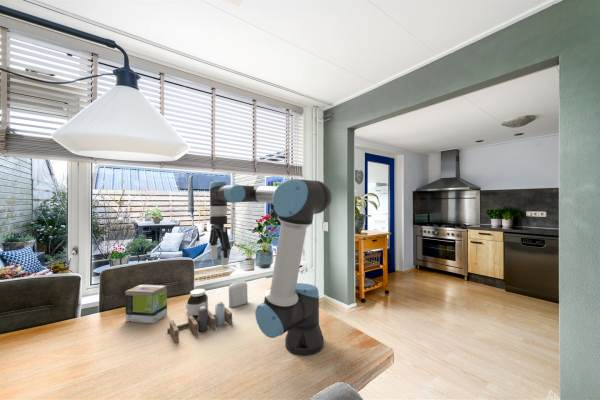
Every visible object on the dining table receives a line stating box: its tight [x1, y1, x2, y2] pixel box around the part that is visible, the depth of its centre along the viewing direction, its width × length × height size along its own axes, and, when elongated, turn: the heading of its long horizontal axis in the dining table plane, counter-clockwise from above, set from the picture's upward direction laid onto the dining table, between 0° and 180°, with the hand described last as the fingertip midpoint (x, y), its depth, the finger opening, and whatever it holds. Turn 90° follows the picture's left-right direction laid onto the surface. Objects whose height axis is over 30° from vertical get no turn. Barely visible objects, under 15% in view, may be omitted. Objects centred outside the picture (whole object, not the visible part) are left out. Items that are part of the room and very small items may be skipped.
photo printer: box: [228, 280, 249, 308], centre depth 135 cm, size 10×4×12 cm, turn 127°
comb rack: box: [166, 305, 233, 344], centre depth 111 cm, size 11×26×5 cm, turn 128°
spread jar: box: [185, 288, 209, 319], centre depth 125 cm, size 12×11×12 cm
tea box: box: [124, 284, 168, 324], centre depth 121 cm, size 15×10×15 cm, turn 80°
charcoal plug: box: [197, 306, 209, 334], centre depth 109 cm, size 4×4×10 cm
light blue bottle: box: [214, 301, 226, 328], centre depth 114 cm, size 4×4×10 cm
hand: (219, 262), depth 114 cm, fingers open, 13 cm apart
